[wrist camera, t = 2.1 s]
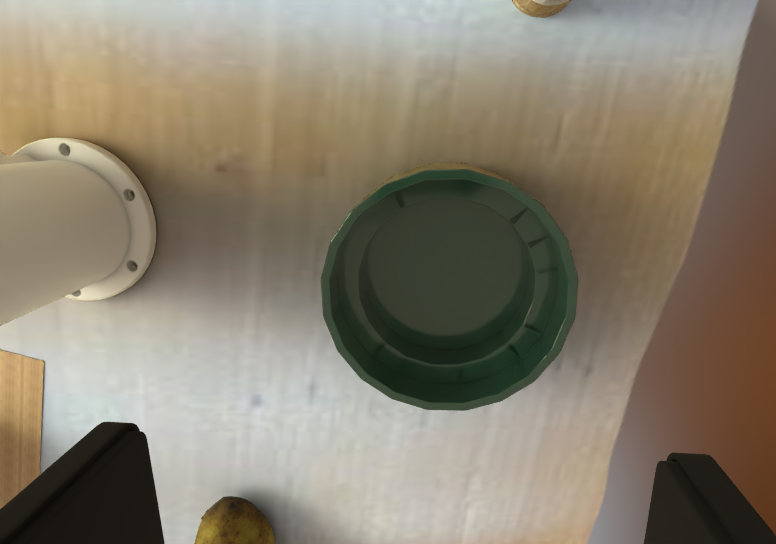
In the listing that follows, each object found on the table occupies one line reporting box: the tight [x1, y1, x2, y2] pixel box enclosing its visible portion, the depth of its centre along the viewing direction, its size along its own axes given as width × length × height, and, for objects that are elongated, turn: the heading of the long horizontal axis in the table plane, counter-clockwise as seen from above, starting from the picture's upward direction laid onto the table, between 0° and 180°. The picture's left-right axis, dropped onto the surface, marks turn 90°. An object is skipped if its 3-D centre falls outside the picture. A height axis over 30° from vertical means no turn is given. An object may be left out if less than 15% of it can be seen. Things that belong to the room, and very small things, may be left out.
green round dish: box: [321, 163, 578, 410], centre depth 35 cm, size 16×16×6 cm
